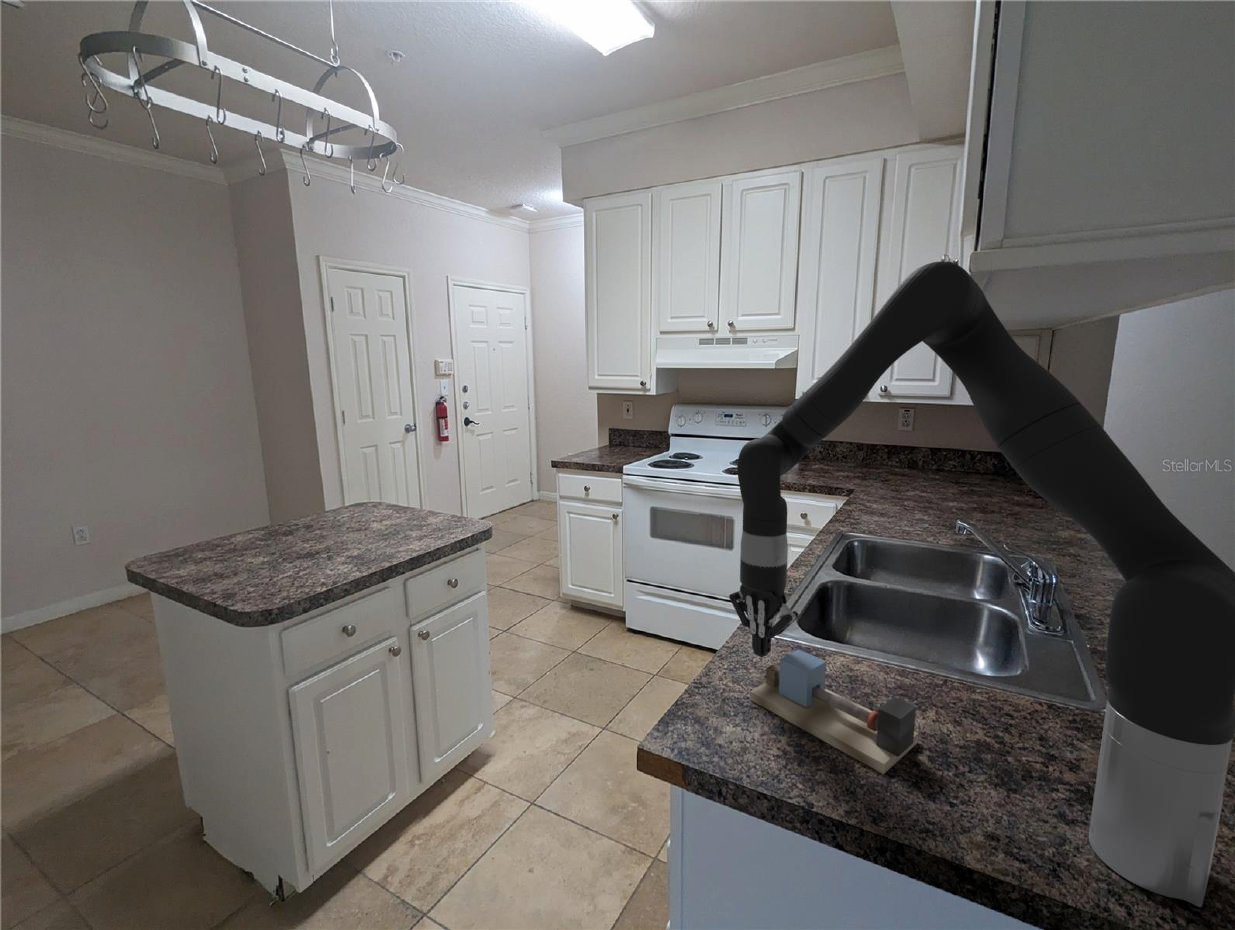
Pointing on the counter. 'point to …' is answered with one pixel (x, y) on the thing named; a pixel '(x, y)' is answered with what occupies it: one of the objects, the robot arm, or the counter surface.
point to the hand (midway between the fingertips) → (761, 654)
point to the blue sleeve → (801, 676)
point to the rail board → (846, 722)
